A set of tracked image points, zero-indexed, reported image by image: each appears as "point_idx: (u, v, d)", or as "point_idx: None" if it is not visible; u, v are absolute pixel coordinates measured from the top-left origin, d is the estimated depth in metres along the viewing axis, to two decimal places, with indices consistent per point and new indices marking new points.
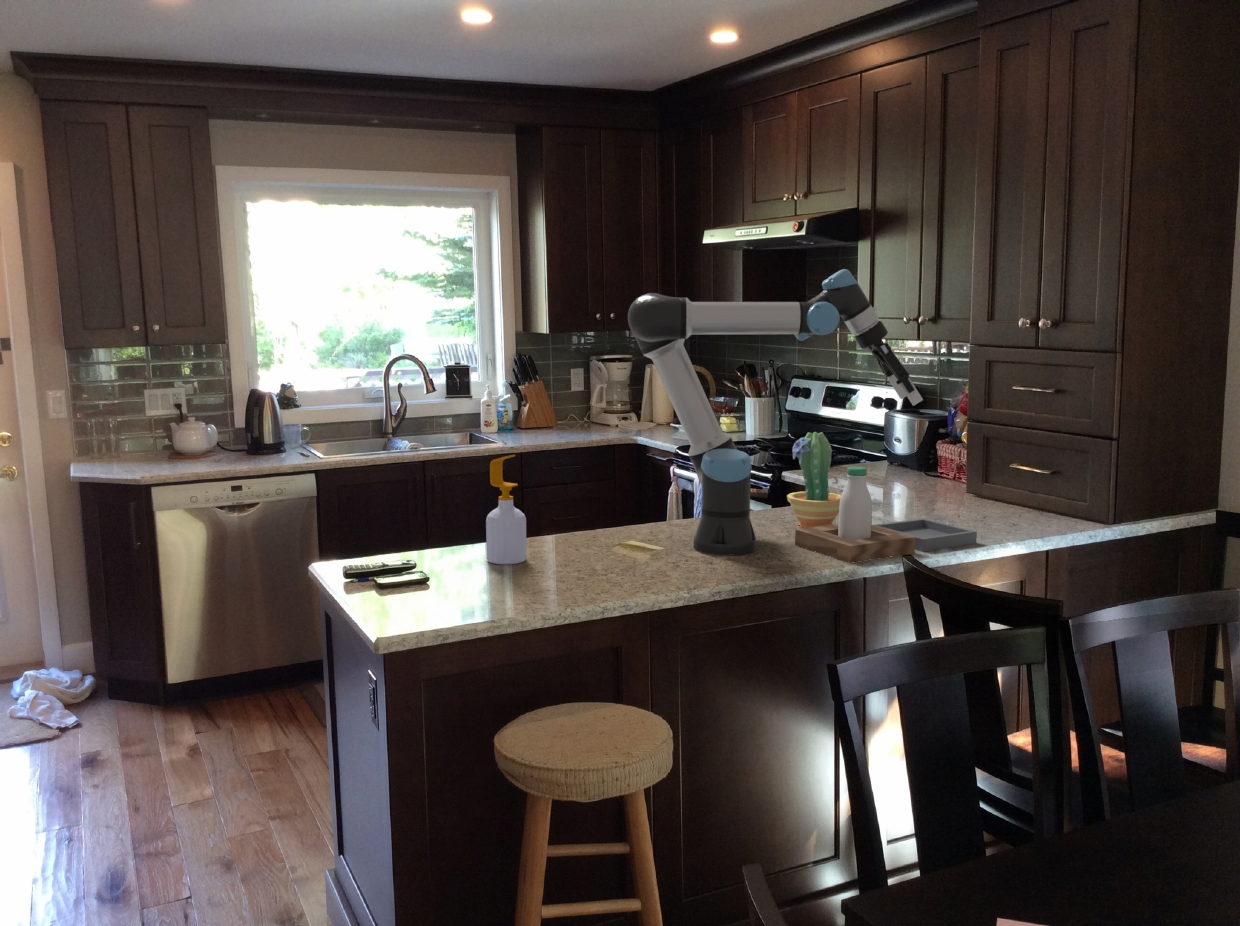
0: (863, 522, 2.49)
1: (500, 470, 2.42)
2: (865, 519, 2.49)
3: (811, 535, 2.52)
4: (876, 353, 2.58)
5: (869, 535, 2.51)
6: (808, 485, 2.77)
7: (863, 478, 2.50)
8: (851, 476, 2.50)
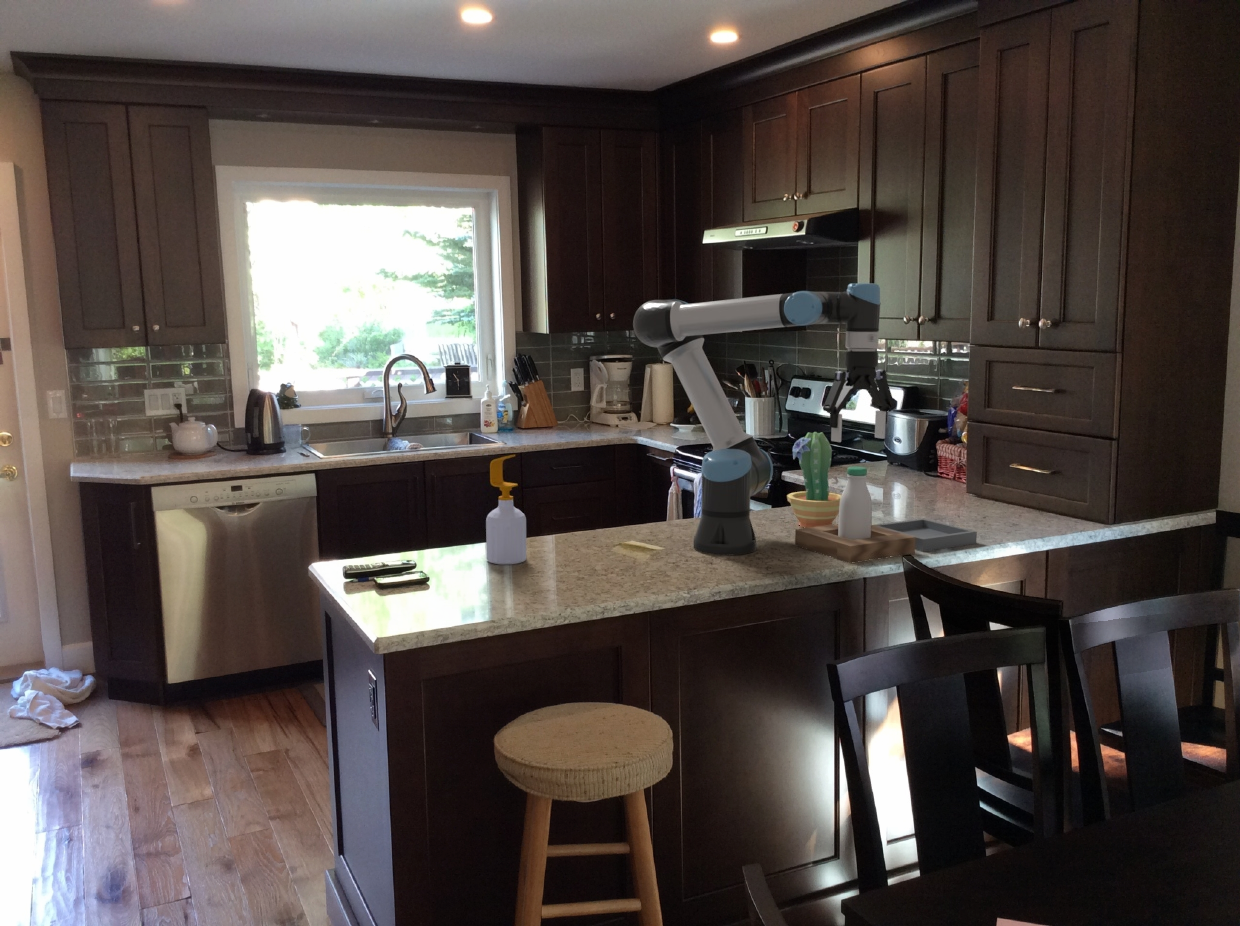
0: (863, 522, 2.49)
1: (500, 470, 2.42)
2: (865, 519, 2.49)
3: (811, 535, 2.52)
4: None
5: (869, 535, 2.51)
6: (808, 485, 2.77)
7: (863, 478, 2.50)
8: (851, 476, 2.50)
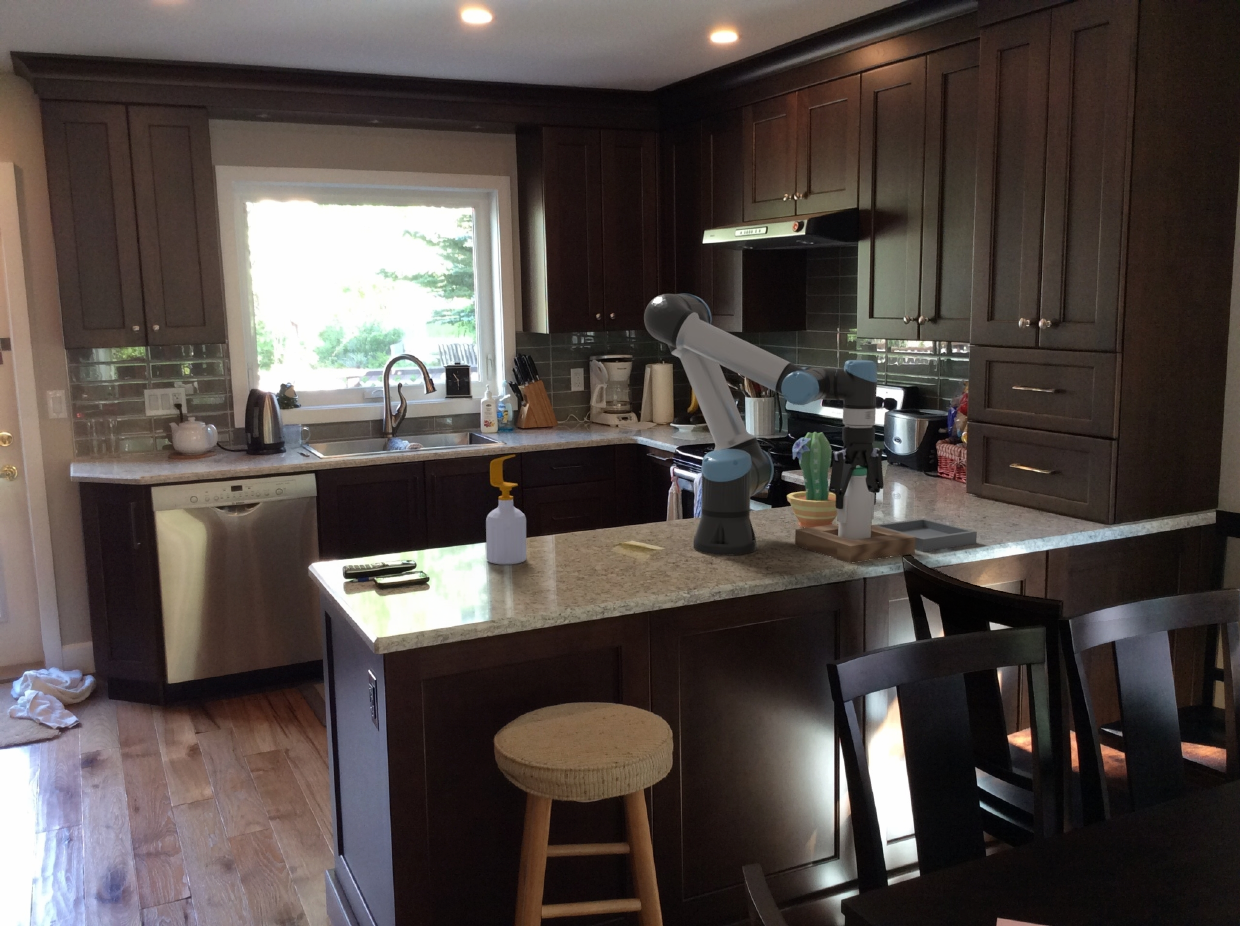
0: (863, 521, 2.49)
1: (500, 470, 2.42)
2: (865, 519, 2.49)
3: (811, 535, 2.52)
4: None
5: (869, 535, 2.51)
6: (808, 485, 2.77)
7: (863, 478, 2.50)
8: (851, 476, 2.50)
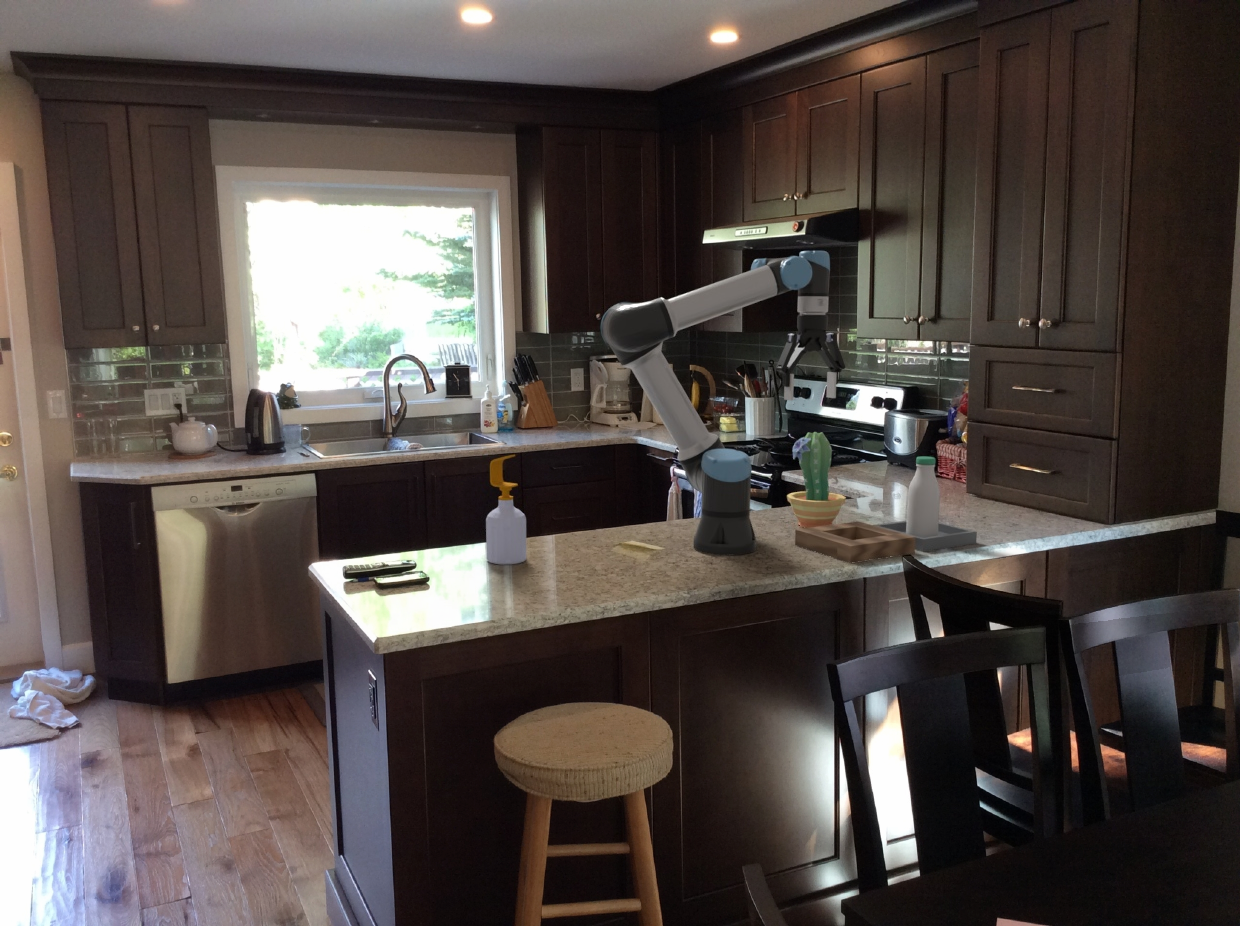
0: (932, 509, 2.59)
1: (500, 470, 2.42)
2: (933, 507, 2.59)
3: (811, 535, 2.52)
4: None
5: (937, 522, 2.61)
6: (808, 485, 2.77)
7: (932, 467, 2.59)
8: (920, 465, 2.60)
